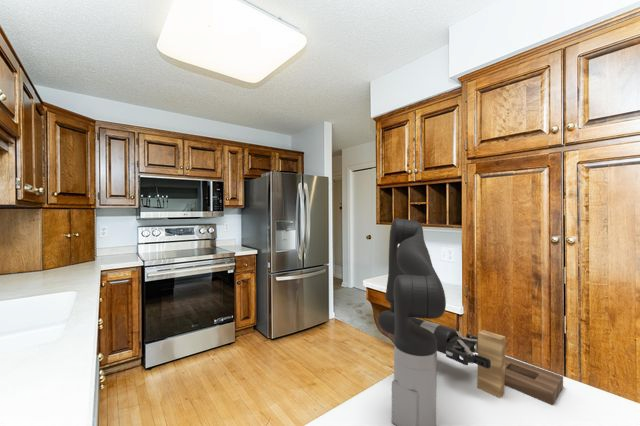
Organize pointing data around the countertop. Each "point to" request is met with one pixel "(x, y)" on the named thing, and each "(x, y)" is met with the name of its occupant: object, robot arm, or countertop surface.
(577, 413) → the countertop surface
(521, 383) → the base board
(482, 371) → the plank
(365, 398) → the countertop surface
